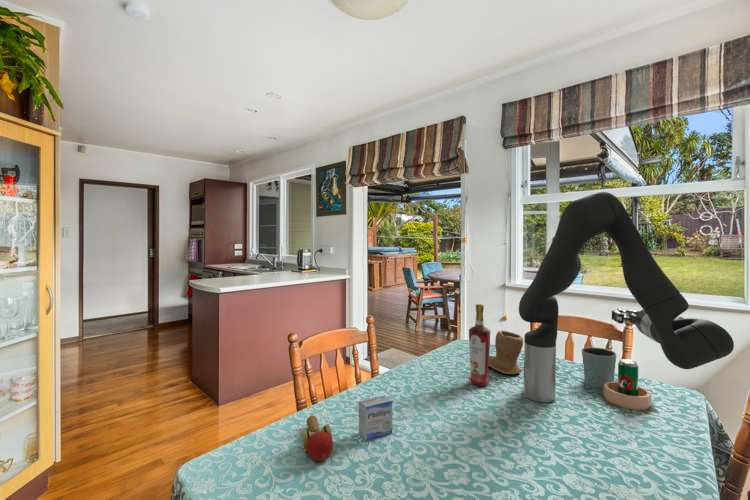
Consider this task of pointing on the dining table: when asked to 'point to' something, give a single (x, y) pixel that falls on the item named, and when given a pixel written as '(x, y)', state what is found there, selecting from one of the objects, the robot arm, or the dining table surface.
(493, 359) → the tan boot
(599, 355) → the grey-green tumbler
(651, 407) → the mat
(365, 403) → the medicine box
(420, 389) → the dining table surface
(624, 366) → the soda can
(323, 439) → the kendama
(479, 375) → the liquor
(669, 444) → the dining table surface
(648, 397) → the bowl
